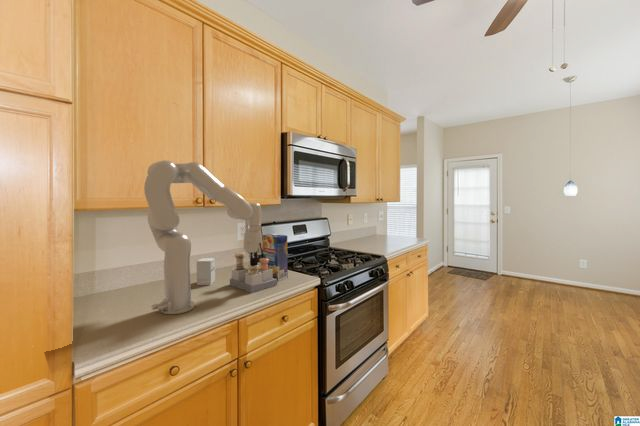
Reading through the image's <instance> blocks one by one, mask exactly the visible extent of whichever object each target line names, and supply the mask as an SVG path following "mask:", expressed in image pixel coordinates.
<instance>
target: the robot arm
mask: <svg viewBox="0 0 640 426" xmlns="http://www.w3.org/2000/svg"><path fill="white" fill-rule="evenodd" d="M172 184H192V185H193V186H194V187H195V188H196V189H198V190H199V192H201V193H202V194H204V196H206V197H207V198H208V199H210V200H212V201H214V202H217V203H220V204H222V205H223V206H226V208H227V209H226V213H227V215H228V216H229V217H230V218H231V219H234V220H240V221H241V220H242V221H244V222H245V223H244V224H245V225H244V227H245V230H244V235H243V250H244V251H245V252H246V253H248V255H249V256H248V257H249V265H251V266H256V265H259V264H258V260H259V259H258V258H259V256H261V255H262V252H263V233H262V207H261V204H260V203H258V202H248V201H247V200H246V199H245V198H244V197H242V196H241V195H240V194H239V193H237V192H236V191H234V190H233V189H231V188H230V187H228V186H227V185H225V184H223V183H222V182H221V181H220V180H219V179H218V178H217V177H216V176H215V175H213V174H212V173H211V172H210V171H209V170H208V169H207V168H206V167H204V165H202V164H201V163H199V162H196V161H191V162H185V163H174V162H172V161H170V160H167V159H166V160H160V161H157V162H154V163H151V164H150V165H149V166H148V168H147V176H146V178H145V182H144V187H143V189H144V190H143V191H144V196H145V199H146V203H147V205H148V208H149V212H148V215H147V224H148V226H149V228H150V230H151V233H152V236H153V238H154V240H155V242H156V244H157V247H158V248H159V249H160V250H161V251H162V252H164V257H163V274H164V275H163V276H164V277H163V278H164V280H163V281H164V298H162V301H161V302H159V303H155V304H152V305H151V310H152V311H154V310H157V311H160V312H161V313H162V314H164V315H179V314H180V315H181V314H184V313H187V312H190V311H192V310H193V309H195V307H196V302H195V301H193V300H192V293H191V290H192V287H191V251H192V242H191V240H190V237H189V236H188V235H186V234H185V233H183V232H180V231H179V230H178V226H179V224H180V216H179V215H180V214H179V213H178V211H177V209H176V206H175V203H174V201H173V198H172V194H171V185H172Z"/></svg>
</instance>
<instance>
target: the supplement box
mask: <svg viewBox="0 0 640 426" xmlns="http://www.w3.org/2000/svg"><path fill="white" fill-rule="evenodd" d="M215 260H216V258H213V257H207V258H205V257H203V258H200V259H198V260H197V261H196V286H212V285H213V283H214V282H215V281H216V262H215Z"/></svg>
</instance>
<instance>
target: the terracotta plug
mask: <svg viewBox="0 0 640 426" xmlns="http://www.w3.org/2000/svg"><path fill="white" fill-rule="evenodd" d="M268 262H269V258H263V257H260V258H259V263H260V269H261V271H266V270H268Z"/></svg>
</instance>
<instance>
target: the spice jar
mask: <svg viewBox="0 0 640 426" xmlns="http://www.w3.org/2000/svg"><path fill="white" fill-rule="evenodd" d="M259 267H260V266H259V264H258V265H256V266H251V265H250V264H249V265H248V271H249V272H250V275H256V274H258V272H257V269H260V268H259Z"/></svg>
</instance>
